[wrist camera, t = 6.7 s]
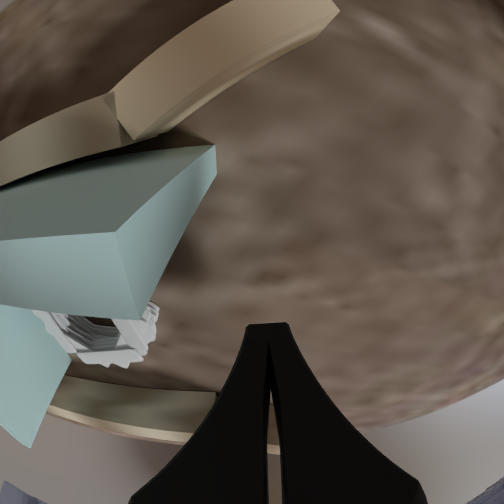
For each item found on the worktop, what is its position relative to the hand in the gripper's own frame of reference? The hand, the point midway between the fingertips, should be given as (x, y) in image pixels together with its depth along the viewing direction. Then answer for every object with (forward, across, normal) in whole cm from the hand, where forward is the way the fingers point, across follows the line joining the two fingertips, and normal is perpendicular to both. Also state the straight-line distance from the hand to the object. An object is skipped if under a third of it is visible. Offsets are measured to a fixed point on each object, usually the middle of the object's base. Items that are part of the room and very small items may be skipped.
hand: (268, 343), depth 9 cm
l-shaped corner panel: (+3, +8, -1) cm, 8 cm away
